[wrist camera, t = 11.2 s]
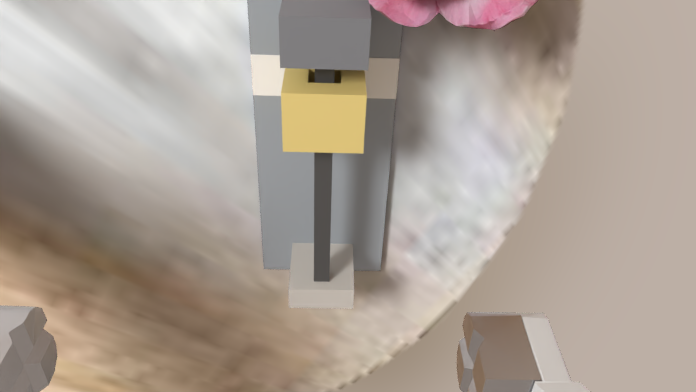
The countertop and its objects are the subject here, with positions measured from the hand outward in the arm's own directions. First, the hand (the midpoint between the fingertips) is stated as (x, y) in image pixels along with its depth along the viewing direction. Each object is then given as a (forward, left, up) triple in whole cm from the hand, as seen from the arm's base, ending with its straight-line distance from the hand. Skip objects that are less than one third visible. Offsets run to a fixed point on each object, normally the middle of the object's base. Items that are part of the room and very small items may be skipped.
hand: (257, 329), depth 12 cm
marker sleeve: (+1, -9, -29) cm, 30 cm away
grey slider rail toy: (+1, -14, -31) cm, 34 cm away
